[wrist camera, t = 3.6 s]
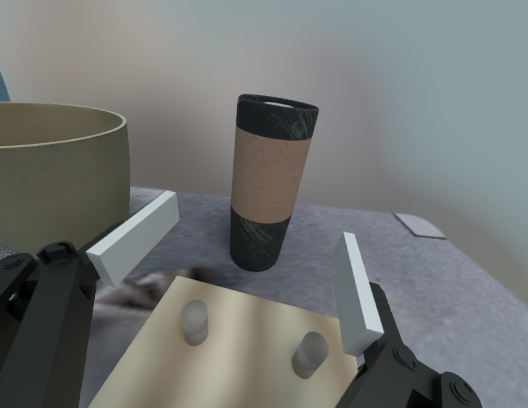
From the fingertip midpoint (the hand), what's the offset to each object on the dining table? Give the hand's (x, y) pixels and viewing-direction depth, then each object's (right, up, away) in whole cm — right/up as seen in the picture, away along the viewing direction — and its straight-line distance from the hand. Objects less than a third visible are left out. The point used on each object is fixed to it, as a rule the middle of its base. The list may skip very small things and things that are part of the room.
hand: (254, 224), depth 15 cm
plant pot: (-22, -4, +10) cm, 25 cm away
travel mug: (-1, -6, +14) cm, 15 cm away
